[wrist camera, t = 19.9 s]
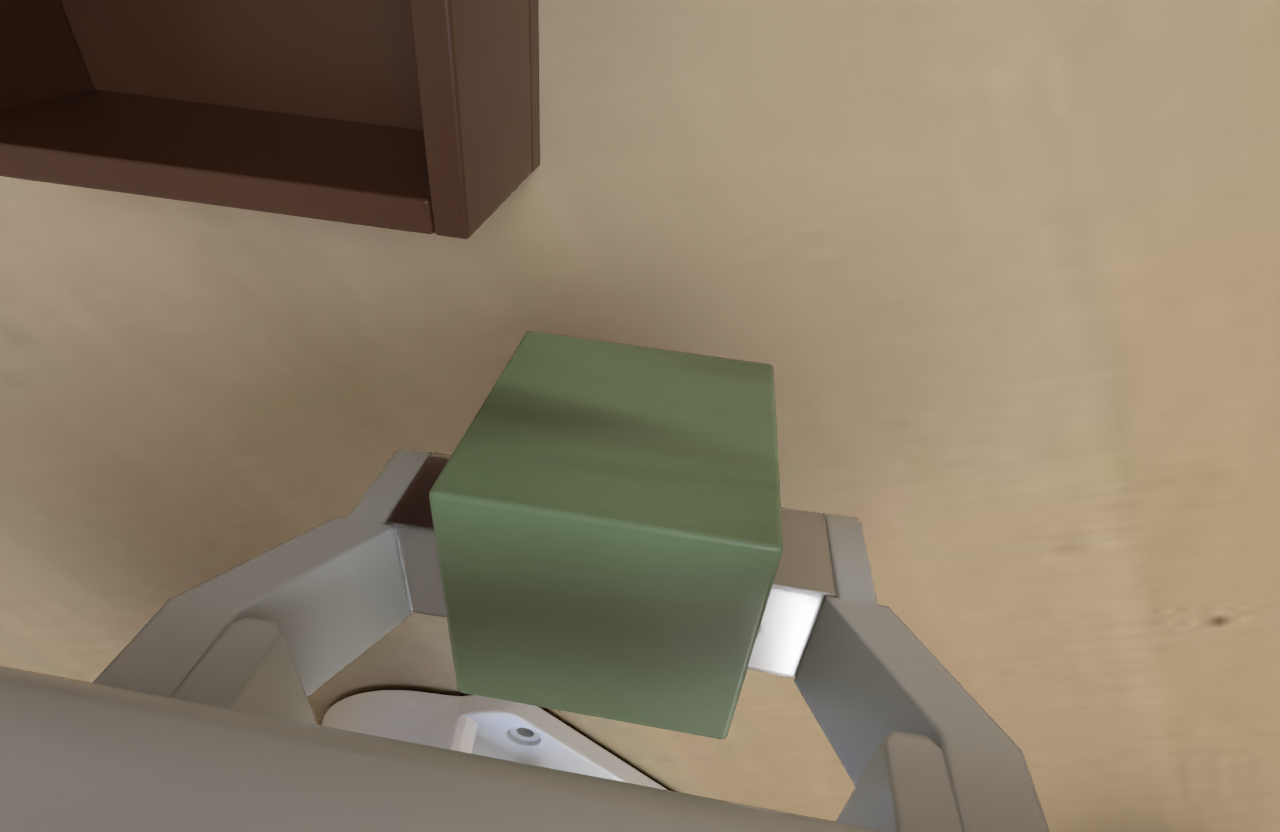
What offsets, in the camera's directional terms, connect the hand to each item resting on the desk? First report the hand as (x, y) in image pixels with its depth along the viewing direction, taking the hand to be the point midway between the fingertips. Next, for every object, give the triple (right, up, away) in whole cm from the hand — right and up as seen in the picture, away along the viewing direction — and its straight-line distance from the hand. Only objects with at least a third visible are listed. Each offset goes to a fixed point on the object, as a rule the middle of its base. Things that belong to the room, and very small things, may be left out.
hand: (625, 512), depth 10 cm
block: (0, +1, +1) cm, 2 cm away
